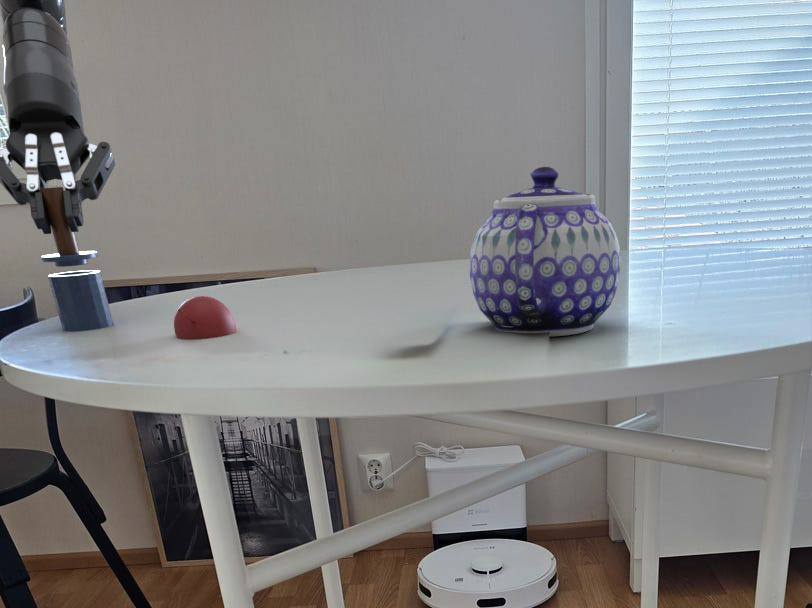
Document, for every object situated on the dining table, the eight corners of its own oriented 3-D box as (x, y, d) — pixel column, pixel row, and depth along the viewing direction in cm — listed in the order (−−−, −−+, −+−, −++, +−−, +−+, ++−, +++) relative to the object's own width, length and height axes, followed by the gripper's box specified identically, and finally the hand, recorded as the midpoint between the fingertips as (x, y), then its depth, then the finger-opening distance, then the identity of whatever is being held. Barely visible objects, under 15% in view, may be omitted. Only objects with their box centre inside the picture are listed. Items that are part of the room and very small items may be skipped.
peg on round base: (33, 269, 92) (10, 190, 89) (60, 263, 97) (40, 188, 94) (84, 266, 92) (63, 186, 88) (109, 260, 97) (90, 185, 93)
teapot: (601, 353, 77) (604, 164, 70) (440, 354, 81) (427, 175, 74) (632, 309, 98) (636, 160, 91) (503, 311, 102) (497, 168, 95)
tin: (58, 348, 97) (38, 277, 93) (82, 340, 101) (63, 271, 98) (103, 346, 96) (85, 275, 92) (125, 338, 101) (108, 269, 97)
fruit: (180, 375, 89) (147, 311, 82) (192, 338, 92) (162, 273, 85) (236, 373, 89) (208, 308, 82) (247, 336, 91) (221, 270, 85)
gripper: (117, 126, 100) (134, 247, 96) (-10, 132, 98) (2, 258, 93) (99, 67, 93) (117, 195, 89) (-38, 72, 90) (-27, 204, 86)
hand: (58, 226), depth 91 cm, fingers closed on peg on round base
